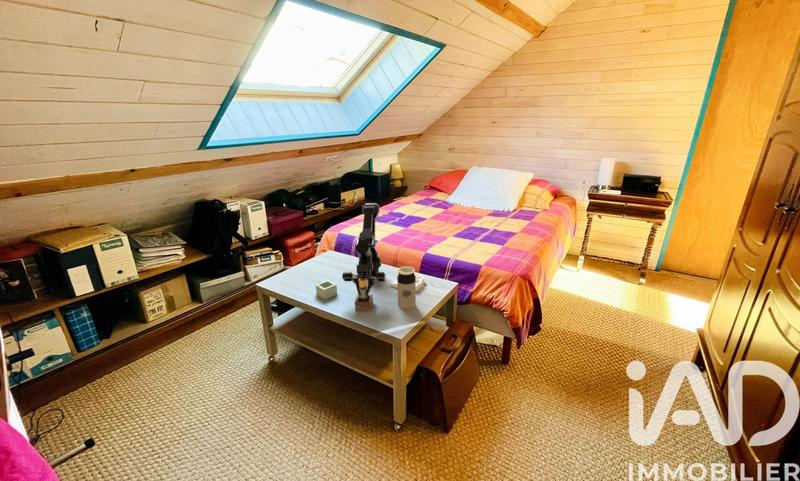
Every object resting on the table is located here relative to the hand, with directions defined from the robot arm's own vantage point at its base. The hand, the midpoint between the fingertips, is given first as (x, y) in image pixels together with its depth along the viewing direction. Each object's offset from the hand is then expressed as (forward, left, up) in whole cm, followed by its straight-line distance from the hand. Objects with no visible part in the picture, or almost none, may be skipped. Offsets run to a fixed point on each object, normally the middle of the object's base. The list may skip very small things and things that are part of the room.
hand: (363, 295), depth 158 cm
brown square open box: (-1, -1, -7) cm, 8 cm away
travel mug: (-19, +5, -8) cm, 21 cm away
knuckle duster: (-26, -11, -8) cm, 30 cm away
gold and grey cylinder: (-1, -1, -6) cm, 6 cm away
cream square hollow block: (+12, -19, -7) cm, 24 cm away
